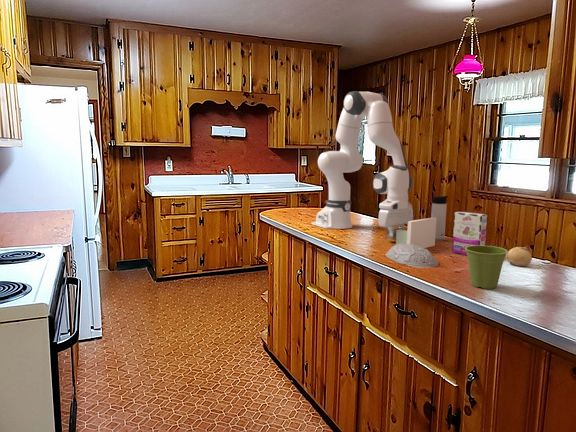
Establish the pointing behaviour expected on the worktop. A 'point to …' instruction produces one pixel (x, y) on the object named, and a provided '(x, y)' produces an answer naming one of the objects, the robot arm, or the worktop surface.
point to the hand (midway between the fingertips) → (395, 235)
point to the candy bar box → (468, 231)
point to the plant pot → (485, 265)
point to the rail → (394, 231)
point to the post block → (418, 233)
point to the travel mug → (439, 216)
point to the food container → (412, 256)
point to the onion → (519, 256)
